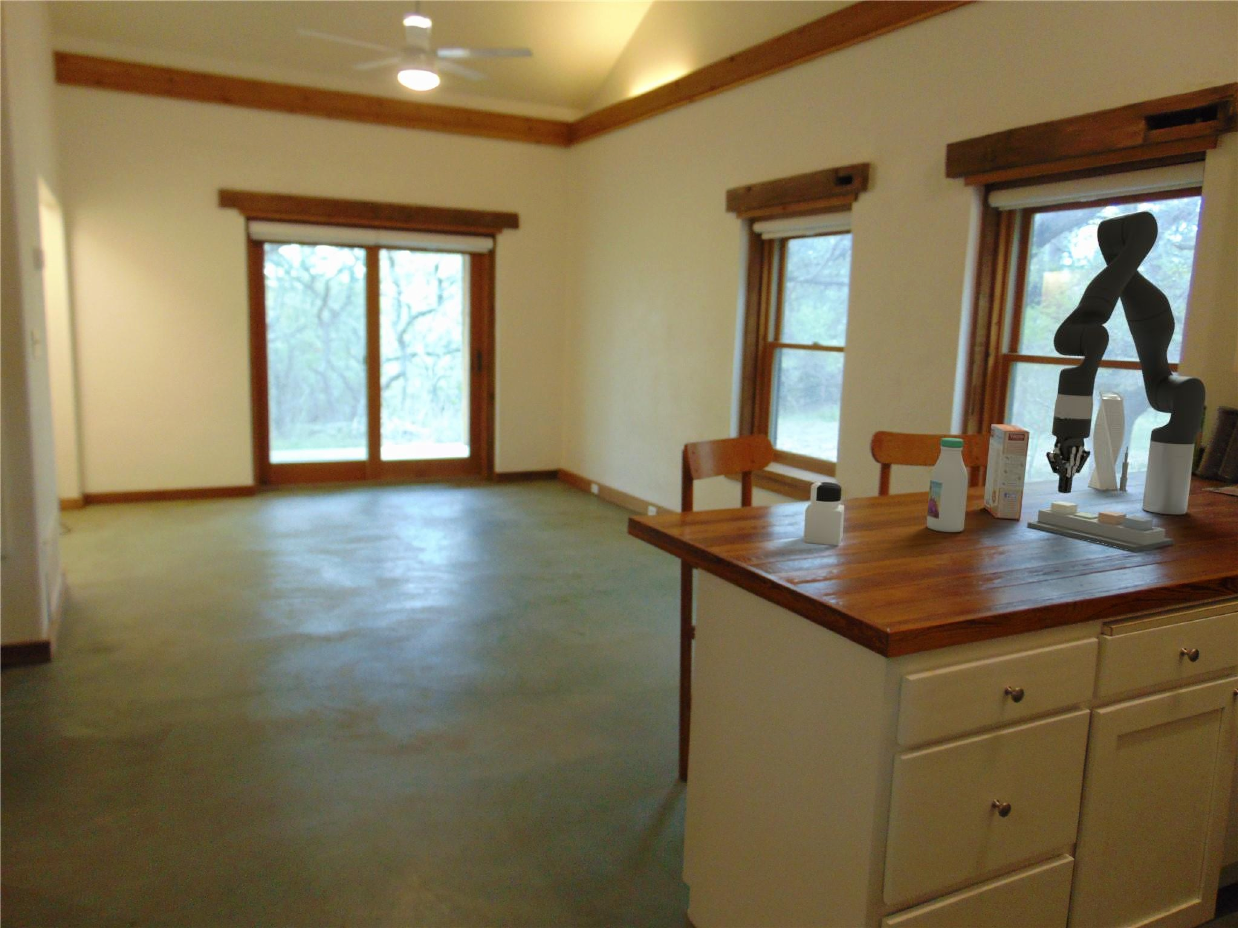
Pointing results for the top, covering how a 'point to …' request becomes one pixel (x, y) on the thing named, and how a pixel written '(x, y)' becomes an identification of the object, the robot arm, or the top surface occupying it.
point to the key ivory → (1064, 507)
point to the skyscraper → (1109, 444)
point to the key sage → (1086, 516)
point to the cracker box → (1006, 471)
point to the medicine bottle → (824, 515)
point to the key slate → (1138, 523)
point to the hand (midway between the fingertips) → (1064, 492)
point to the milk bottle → (948, 489)
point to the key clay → (1111, 517)
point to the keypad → (1100, 531)
